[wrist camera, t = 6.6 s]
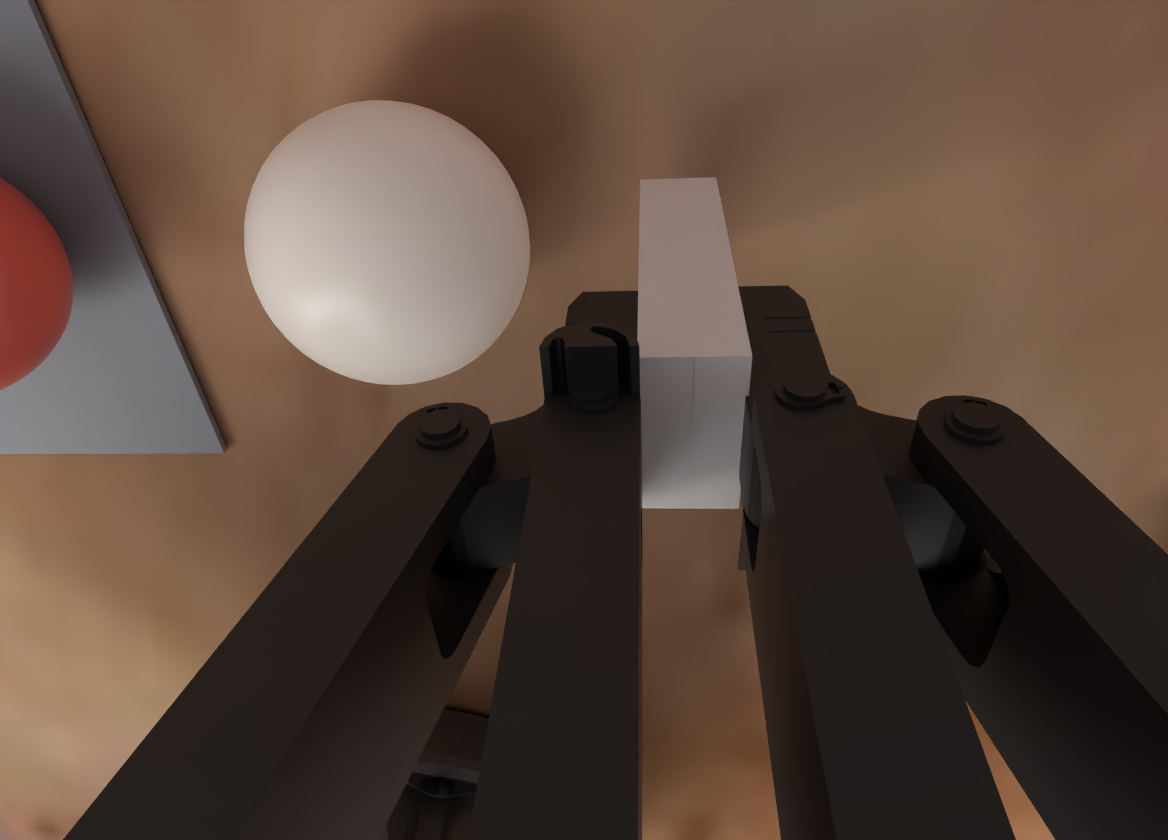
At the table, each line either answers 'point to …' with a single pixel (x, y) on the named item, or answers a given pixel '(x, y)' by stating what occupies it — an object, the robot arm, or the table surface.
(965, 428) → the robot arm
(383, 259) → the cue ball
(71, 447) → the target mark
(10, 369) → the red ball
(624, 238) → the table surface
